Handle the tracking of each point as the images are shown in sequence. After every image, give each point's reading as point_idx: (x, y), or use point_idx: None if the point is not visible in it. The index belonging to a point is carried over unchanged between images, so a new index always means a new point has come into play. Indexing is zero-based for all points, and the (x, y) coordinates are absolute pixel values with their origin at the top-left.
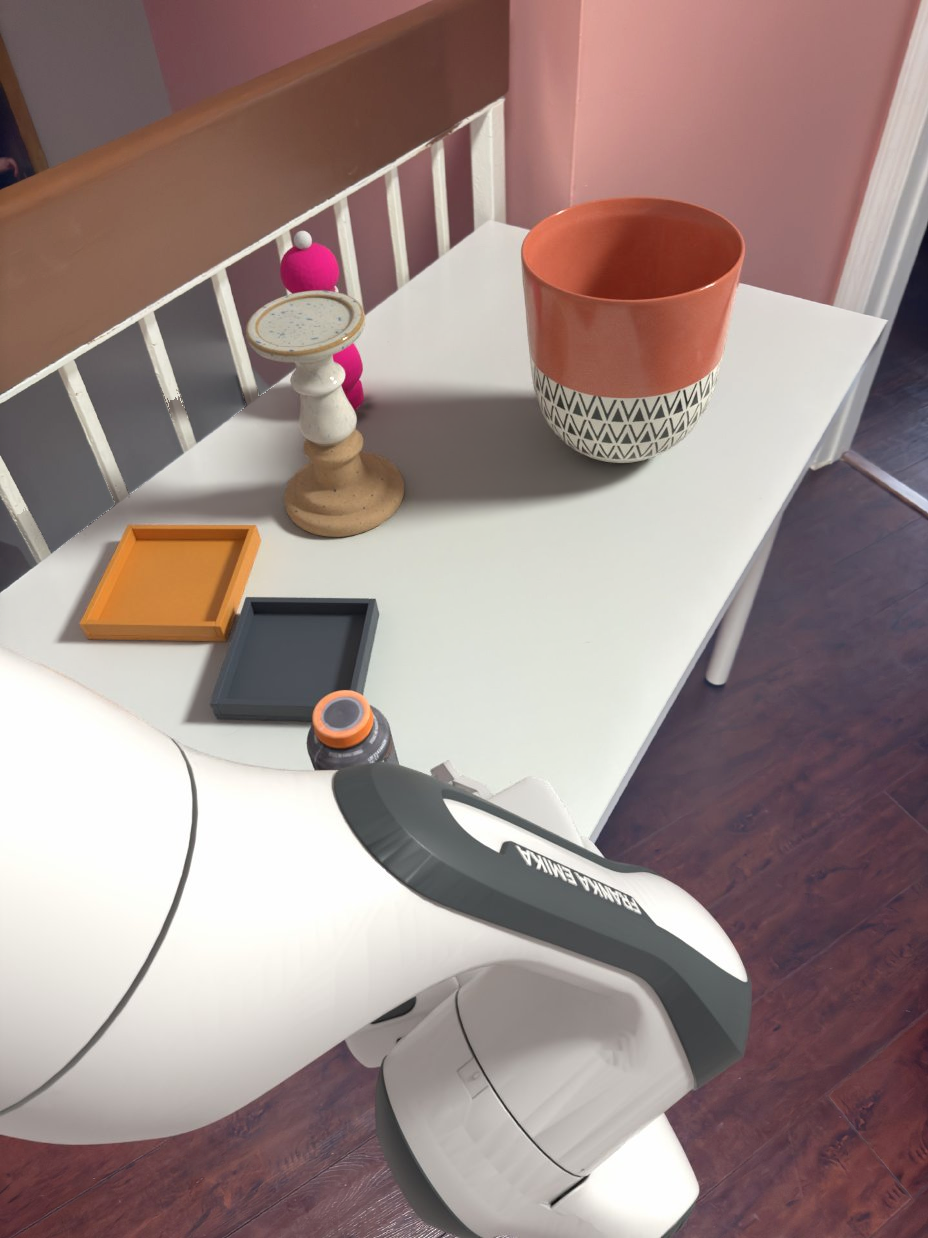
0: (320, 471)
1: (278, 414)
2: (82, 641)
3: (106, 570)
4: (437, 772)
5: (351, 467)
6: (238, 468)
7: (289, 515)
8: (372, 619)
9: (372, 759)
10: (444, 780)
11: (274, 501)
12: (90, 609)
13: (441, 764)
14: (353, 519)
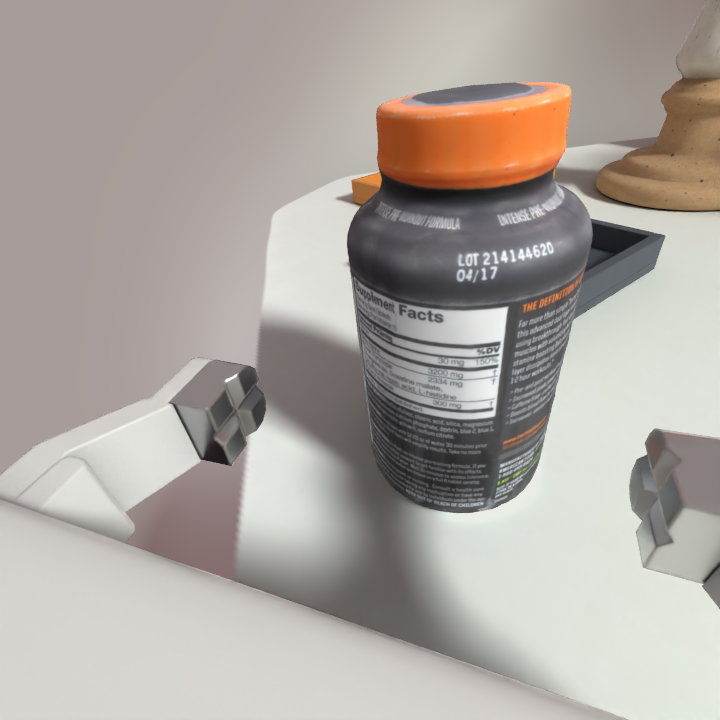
0: (668, 126)
1: (637, 145)
2: (349, 202)
3: None
4: (685, 450)
5: (715, 126)
6: (571, 160)
7: (597, 180)
8: (643, 251)
9: (472, 266)
10: (708, 495)
11: (588, 178)
12: (368, 176)
13: (718, 439)
14: (678, 187)
